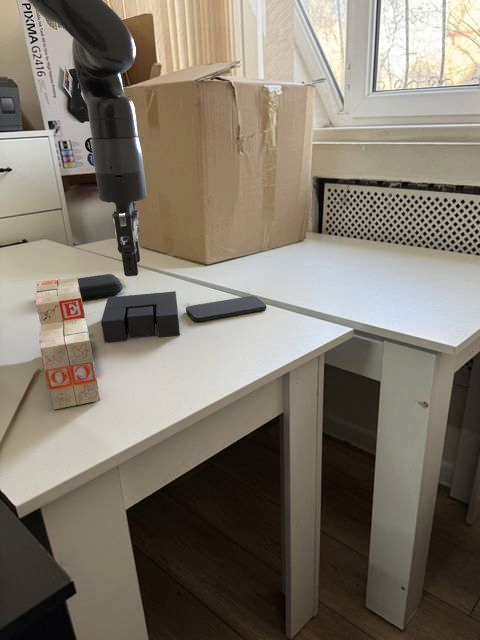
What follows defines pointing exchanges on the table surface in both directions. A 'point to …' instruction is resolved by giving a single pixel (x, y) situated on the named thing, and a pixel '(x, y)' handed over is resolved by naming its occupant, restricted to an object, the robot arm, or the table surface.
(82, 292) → the carrying case
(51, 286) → the stack of blocks
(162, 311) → the notched block
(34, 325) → the table surface
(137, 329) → the square block
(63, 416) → the table surface
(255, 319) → the table surface
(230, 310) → the phone
